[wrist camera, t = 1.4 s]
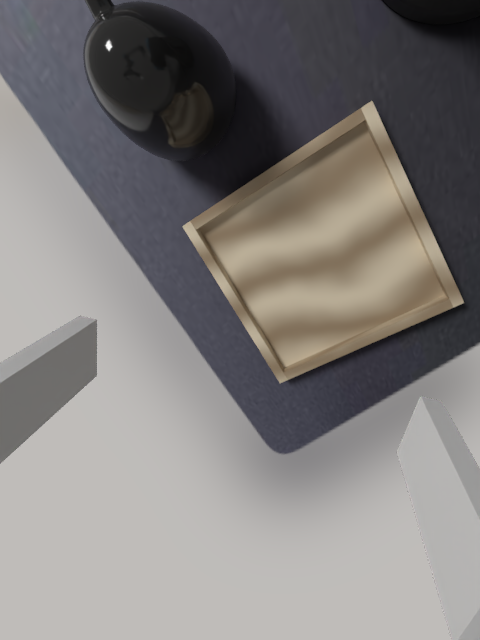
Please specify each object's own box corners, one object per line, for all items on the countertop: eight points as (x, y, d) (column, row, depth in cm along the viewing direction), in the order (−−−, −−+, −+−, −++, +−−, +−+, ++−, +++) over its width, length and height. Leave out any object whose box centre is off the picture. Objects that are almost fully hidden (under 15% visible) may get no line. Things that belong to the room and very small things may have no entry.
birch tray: (188, 224, 38) (182, 226, 37) (368, 105, 32) (372, 100, 30) (281, 374, 43) (280, 383, 41) (456, 296, 36) (464, 302, 34)
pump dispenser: (213, 12, 32) (138, -125, 18) (260, 132, 34) (228, 97, 20) (119, 74, 35) (-9, 1, 21) (170, 181, 37) (87, 179, 23)
